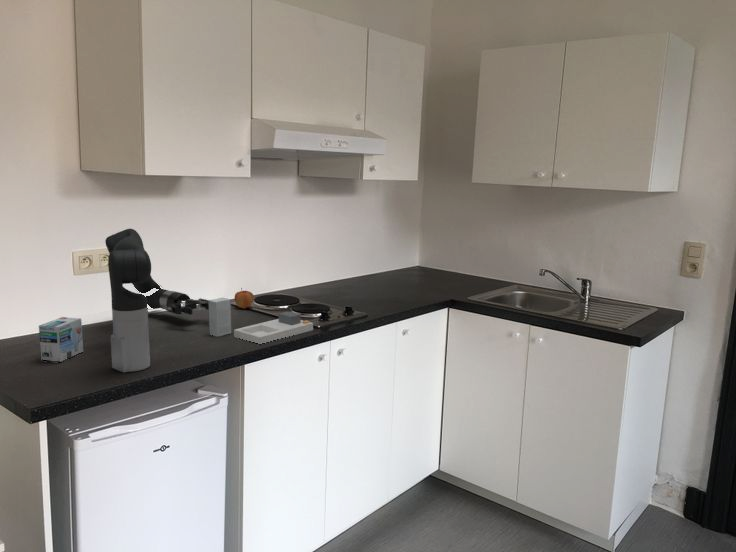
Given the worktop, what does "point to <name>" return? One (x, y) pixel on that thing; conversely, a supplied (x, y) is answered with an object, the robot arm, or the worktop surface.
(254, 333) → the grey rectangular base
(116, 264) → the robot arm
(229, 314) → the skincare box
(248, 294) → the apple
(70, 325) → the light bulb box
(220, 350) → the worktop surface
